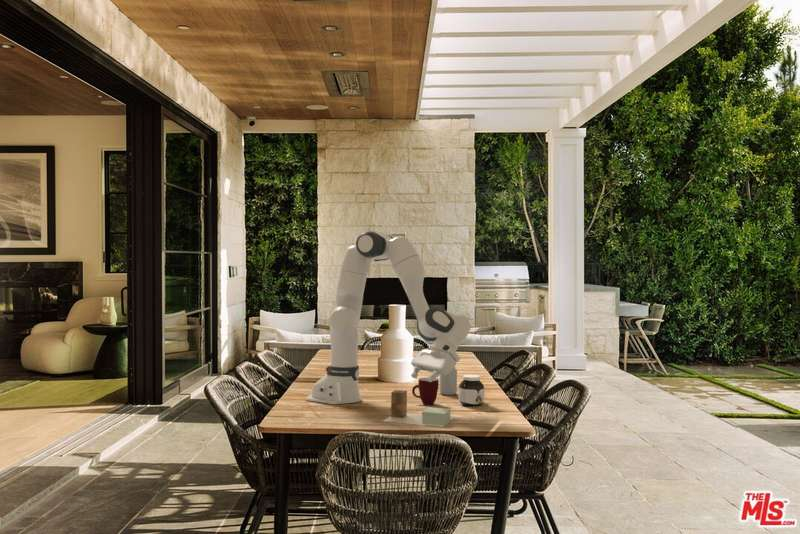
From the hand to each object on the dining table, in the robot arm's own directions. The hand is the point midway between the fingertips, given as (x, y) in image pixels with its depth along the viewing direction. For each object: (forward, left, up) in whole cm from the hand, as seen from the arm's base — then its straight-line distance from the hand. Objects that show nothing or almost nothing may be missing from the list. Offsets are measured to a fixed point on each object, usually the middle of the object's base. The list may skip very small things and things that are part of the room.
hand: (420, 379), depth 253 cm
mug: (-5, +21, -14) cm, 26 cm away
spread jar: (+12, +29, -14) cm, 35 cm away
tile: (+2, -9, -14) cm, 17 cm away
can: (-2, +45, -14) cm, 47 cm away
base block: (+9, -11, -13) cm, 19 cm away
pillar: (-6, -8, -13) cm, 16 cm away
